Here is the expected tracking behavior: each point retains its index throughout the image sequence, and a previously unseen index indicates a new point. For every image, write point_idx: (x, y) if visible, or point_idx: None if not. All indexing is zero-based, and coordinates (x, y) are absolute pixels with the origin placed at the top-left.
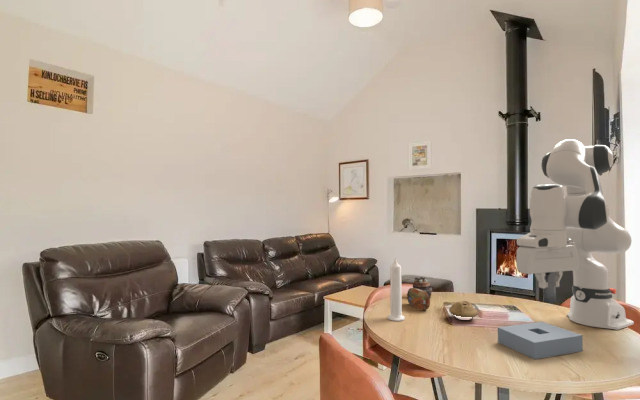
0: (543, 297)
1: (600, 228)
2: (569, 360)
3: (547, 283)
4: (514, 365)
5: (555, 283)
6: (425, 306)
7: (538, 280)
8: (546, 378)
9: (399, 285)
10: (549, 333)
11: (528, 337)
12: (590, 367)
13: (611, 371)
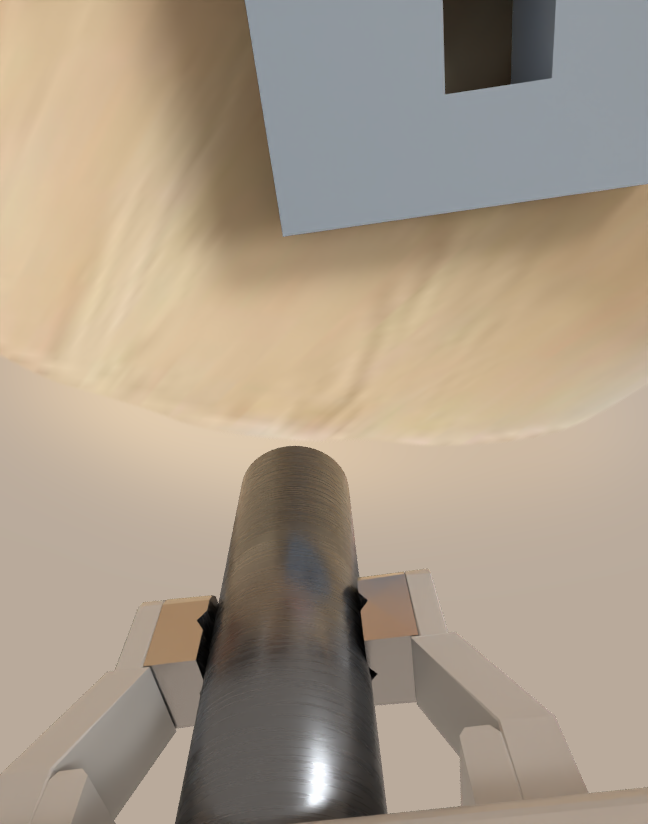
0: (241, 496)
1: None
2: (454, 265)
3: None
4: (131, 268)
5: None
6: None
7: (97, 693)
8: (197, 398)
9: None
10: (531, 92)
11: (312, 140)
12: (475, 346)
13: (522, 390)
